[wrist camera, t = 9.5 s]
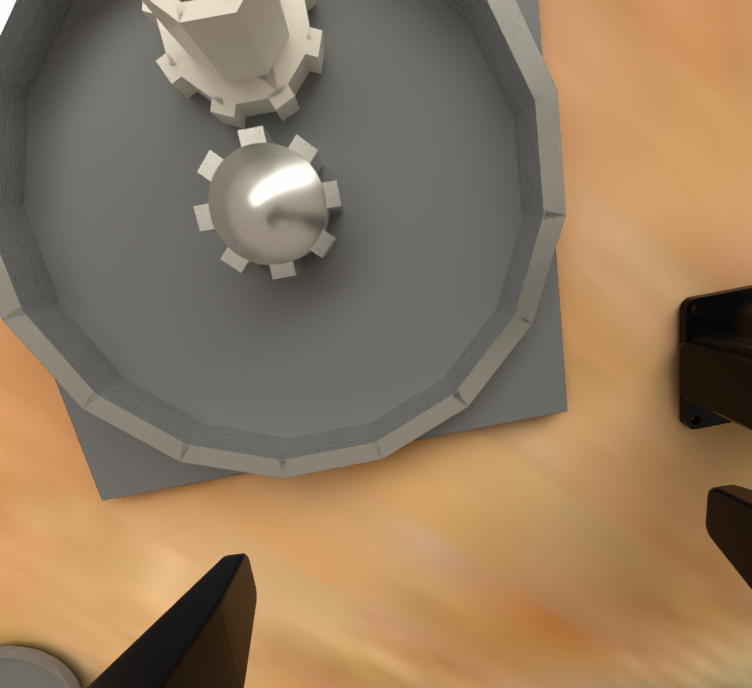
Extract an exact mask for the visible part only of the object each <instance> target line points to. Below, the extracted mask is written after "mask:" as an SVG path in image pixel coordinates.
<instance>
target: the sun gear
mask: <svg viewBox="0 0 752 688" xmlns="http://www.w3.org/2000/svg"><path fill="white" fill-rule="evenodd" d="M237 131H238V135H239V140H240V144H241V148H239V149H237V150H235V151H234V152H232V153H231V154H230V155H228V156H227V157H226V158H225V159H223V158H222V157H220V156H219V155H217V154H216V153H214V152H212V151H211V150H209V152H208V154H207V156H206V157H205V159H204V161H203V163H202V164H201V166H200V168H199V170H198V171H197V172H198V173H199V174H201V175H202V176H204V177H205V178H206V179H208V180H209V181H211V183H210V187H209V193H208V204H203V205H197V206H193V208H194V211H195V215H196V219H197V222H198V226H199V230H200V232H216V233H218V235H219V237H220V238H221V239H222V241H223V242H224V243H225V244H226V245H227V246H228V247H227V249H226V251H225V252H224V254H223V256H222V257H221V260H222V261H224V262H225V263H227V264H228V265H230V266H231V267H233V268H234V269H236V270H237V271H239V272H240V273H243V272H247V271H250V270H253V269H257V268H260V266H261V265H262V264H263V265H269V266H270V270H271V274H272V278H273V280H274V279H279V278H285V277H290V276H295V275H297V274H299V273H301V272H302V271H304V270H305V266H304V262H303V257H304V256H306V255H308V254H310V253H311V252H314V253H315V254H317V255H318V256H320V257H321V258H323V257H325V256H326V255H327V254H328V252H329V251H330V249H331V248H332V246H333V245H334V243H335V242H336V240H337V239H338V238H336V237H335V236H333V235H332V234H331V233H329V232H328V228H329V224H330V217H331V214H333V213H338V212H343V210H342V204H341V199H340V194H339V189H338V184H337V180H334V181H329V182H323V183H322V182H321V180H320V179H319V177H318V174H319V173H320V171H321V170H322V168H323V163H322V160H321V158H320V155H319V152H318V150H317V149H316V148H314V147H313V146H312V145H310V144H309V143H308V142H306V141H305V140H304V139H302V138H301V137H300V136H298V135H297V134H296V136H295V137H294V139H293V141H292V142H291V144H290V146H289V147H288V148H287V147H284V146H281V145H278V144H276V143H275V141H274V140H273V139H272V137H271V136H270V135H269V134H268V132H267V131H266V130H265V128H264V127H263V126H259V127H253V128H248V129H242V130H237Z"/></svg>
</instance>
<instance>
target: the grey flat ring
mask: <svg viewBox="0 0 752 688" xmlns="http://www.w3.org/2000/svg"><path fill="white" fill-rule="evenodd" d="M442 1H443V2H444V3H445V4H447V5H448V6H449V7H450V8H451V9H452V10H453V11H455V12H456V13H457V14H458V15H459V16H460V17H461V18H463V19H464V20H465V21H466V23H467V25H468V27H469V29H470V31H471V33H472V35H473V37H474V39H475V41H476V43H477V45H478V47H479V49H480V51H481V53H482V55H483V57H484V60H485V62H486V64H487V66H488V68H489V70H490V72H491V74H492V76H493V78H494V80H495V82H496V84H497V86H498V88H499V90H500V92H501V94H502V96H503V98H504V100H505V102H506V104H507V106H508V108H509V110H510V112H511V114H512V116H513V121H514V132H515V144H516V155H517V166H518V177H519V189H520V200H521V211H522V220H521V223H520V227H519V230H518V234H517V237H516V241H515V244H514V248H513V251H512V255H511V258H510V262H509V265H508V269H507V272H506V276H505V280H504V283H503V287H502V290H501V294H500V297H499V301H498V304H497V307H496V309H495V310H494V311H493V313H492V314H491V315H490V317H489V318H488V319H487V321H486V322H485V323H484V325H483V326H482V327H481V329H480V330H479V331H478V333H477V334H476V335H475V337H474V338H473V339H472V341H471V342H470V343H469V345H468V346H467V347H466V349H465V350H464V351H463V353H462V354H461V355H460V357H459V358H458V359H457V361H456V362H455V363H454V365H453V366H452V367H451V369H450V370H449V371H448V373H447V374H446V375H445V377H444V378H442V379H440V380H439V381H437V382H436V383H434V384H432V385H431V386H429V387H428V388H426V389H424V390H423V391H421V392H420V393H418V394H416V395H415V396H413V397H411V398H410V399H408V400H407V401H405V402H403V403H402V404H400V405H399V406H397V407H395V408H394V409H392V410H391V411H389V412H387V413H386V414H384V415H382V416H381V417H379V418H378V419H376V420H374V421H373V422H369V423H363V424H358V425H353V426H348V427H343V428H337V429H332V430H327V431H322V432H316V433H311V434H306V435H301V436H296V437H290V438H288V437H283V436H277V435H271V434H265V433H259V432H253V431H247V430H242V429H236V428H230V427H224V426H218V425H212V424H206V423H203V422H201V421H199V420H197V419H196V418H194V417H192V416H190V415H189V414H187V413H185V412H183V411H182V410H180V409H178V408H176V407H175V406H173V405H171V404H169V403H168V402H166V401H164V400H162V399H161V398H159V397H157V396H155V395H154V394H152V393H150V392H148V391H147V390H145V389H143V388H141V387H139V386H138V385H136V384H134V383H132V382H131V381H129V380H127V379H125V378H124V377H123V376H122V375H121V374H120V373H119V371H118V370H117V369H116V368H115V367H114V366H113V364H112V363H111V362H110V361H109V360H108V359H107V357H106V356H105V355H104V354H103V353H102V352H101V350H100V349H99V348H98V347H97V346H96V345H95V343H94V342H93V341H92V340H91V339H90V338H89V336H88V335H87V334H86V333H85V332H84V331H83V329H82V328H81V327H80V326H79V325H78V324H77V322H76V321H75V320H74V319H73V318H72V317H71V315H70V314H69V313H68V312H67V311H66V309H65V308H64V307H63V306H62V305H61V304H60V302H59V299H58V296H57V293H56V291H55V288H54V285H53V283H52V280H51V277H50V274H49V272H48V269H47V266H46V264H45V261H44V258H43V255H42V253H41V250H40V247H39V244H38V242H37V239H36V236H35V234H34V231H33V228H32V225H31V223H30V220H29V217H28V214H27V212H26V209H25V206H24V200H25V166H26V132H27V99H28V97H29V94H30V92H31V90H32V88H33V86H34V84H35V82H36V80H37V78H38V76H39V74H40V72H41V70H42V68H43V66H44V64H45V62H46V59H47V57H48V55H49V53H50V51H51V49H52V47H53V45H54V43H55V41H56V39H57V37H58V35H59V33H60V31H61V29H62V27H63V24H64V22H65V20H66V18H67V16H68V14H69V12H70V10H71V8H72V6H73V4H74V2H75V0H0V316H1V318H2V320H3V321H4V322H5V323H6V325H7V326H8V327H9V328H10V329H11V330H12V331H13V332H14V333H15V335H16V336H17V337H18V338H19V339H20V340H21V341H22V342H23V343H24V344H25V346H26V347H27V348H28V349H29V350H30V351H31V352H32V353H33V354H34V356H35V357H36V358H37V359H38V360H39V361H40V362H41V363H42V364H43V366H44V367H45V368H46V369H47V370H48V371H49V372H50V373H51V374H52V375H53V377H54V378H55V379H56V380H57V381H58V382H59V383H60V384H61V385H62V387H63V388H64V389H65V390H66V391H67V392H68V393H69V394H70V395H71V397H72V398H73V399H74V400H75V401H76V402H77V403H78V404H79V405H80V407H81V408H82V409H84V410H86V411H88V412H90V413H91V414H93V415H95V416H97V417H99V418H101V419H102V420H104V421H106V422H108V423H110V424H112V425H113V426H115V427H117V428H119V429H121V430H123V431H125V432H126V433H128V434H130V435H132V436H134V437H136V438H137V439H139V440H141V441H143V442H145V443H147V444H148V445H150V446H152V447H154V448H156V449H158V450H159V451H161V452H163V453H165V454H167V455H169V456H170V457H172V458H174V459H176V460H178V461H180V462H185V463H191V464H197V465H203V466H210V467H216V468H222V469H228V470H235V471H241V472H247V473H253V474H260V475H266V476H272V477H278V478H287V477H292V476H298V475H303V474H308V473H313V472H318V471H324V470H329V469H334V468H339V467H344V466H349V465H355V464H360V463H365V462H370V461H375V460H381V459H383V458H385V457H387V456H388V455H390V454H391V453H393V452H395V451H396V450H398V449H400V448H401V447H403V446H405V445H406V444H408V443H409V442H411V441H413V440H414V439H416V438H418V437H419V436H421V435H423V434H424V433H426V432H427V431H429V430H431V429H432V428H434V427H436V426H437V425H439V424H441V423H442V422H444V421H445V420H447V419H449V418H450V417H452V416H454V415H455V414H457V413H459V412H460V411H462V410H463V409H465V408H467V407H468V406H469V405H470V403H471V402H472V401H473V400H474V398H475V397H476V396H477V394H478V393H479V392H480V391H481V389H482V388H483V387H484V385H485V384H486V383H487V382H488V380H489V379H490V378H491V376H492V375H493V374H494V373H495V371H496V370H497V369H498V367H499V366H500V365H501V364H502V362H503V361H504V360H505V358H506V357H507V356H508V354H509V353H510V352H511V351H512V349H513V348H514V347H515V345H516V344H517V343H518V342H519V340H520V339H521V338H522V336H523V335H524V334H525V333H526V331H527V330H528V329H529V327H530V326H531V325H532V324H533V320H534V317H535V314H536V310H537V307H538V304H539V301H540V297H541V294H542V291H543V288H544V284H545V281H546V278H547V275H548V271H549V268H550V265H551V262H552V258H553V255H554V252H555V248H556V245H557V242H558V239H559V235H560V232H561V229H562V226H563V222H564V219H565V216H566V213H565V197H564V182H563V166H562V151H561V135H560V120H559V104H558V91H557V89H556V87H555V85H554V82H553V80H552V78H551V76H550V74H549V72H548V69H547V67H546V65H545V63H544V61H543V59H542V57H541V54H540V52H539V50H538V48H537V46H536V44H535V41H534V39H533V37H532V35H531V33H530V31H529V28H528V26H527V24H526V22H525V20H524V18H523V15H522V13H521V11H520V9H519V7H518V5H517V3H516V0H442Z"/></svg>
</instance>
